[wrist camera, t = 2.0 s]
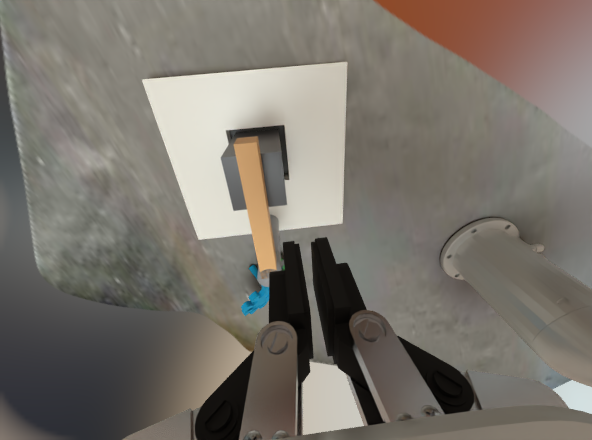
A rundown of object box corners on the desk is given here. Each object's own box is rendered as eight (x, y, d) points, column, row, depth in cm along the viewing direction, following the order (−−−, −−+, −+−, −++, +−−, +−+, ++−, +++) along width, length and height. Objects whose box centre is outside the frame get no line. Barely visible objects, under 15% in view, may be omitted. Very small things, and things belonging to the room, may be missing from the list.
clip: (263, 132, 19) (262, 141, 17) (281, 265, 27) (283, 285, 24) (233, 135, 19) (227, 145, 17) (260, 267, 27) (259, 288, 24)
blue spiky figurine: (268, 309, 42) (233, 327, 33) (249, 283, 44) (210, 293, 35) (311, 266, 40) (286, 272, 31) (289, 241, 42) (259, 239, 33)
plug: (278, 128, 28) (281, 151, 20) (282, 169, 31) (287, 205, 22) (235, 132, 28) (220, 157, 20) (243, 173, 31) (233, 210, 22)
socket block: (342, 62, 25) (374, 56, 18) (338, 216, 35) (358, 256, 27) (150, 79, 25) (94, 80, 17) (202, 231, 35) (182, 277, 27)
